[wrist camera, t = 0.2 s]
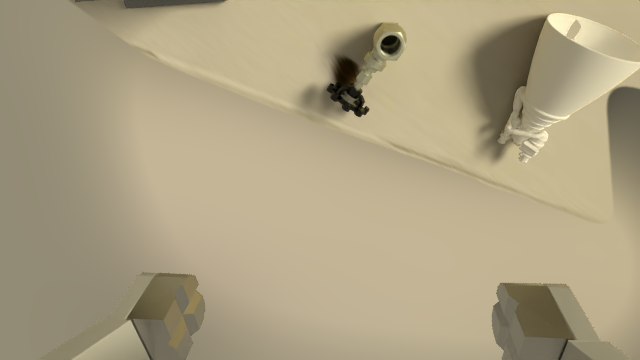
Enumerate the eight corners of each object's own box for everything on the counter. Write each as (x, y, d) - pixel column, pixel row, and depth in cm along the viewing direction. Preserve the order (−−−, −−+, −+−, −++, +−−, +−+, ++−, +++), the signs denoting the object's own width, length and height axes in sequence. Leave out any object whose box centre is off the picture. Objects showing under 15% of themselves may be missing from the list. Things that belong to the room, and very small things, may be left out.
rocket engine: (527, 191, 51) (632, 71, 38) (458, 140, 56) (530, 19, 43) (562, 163, 57) (661, 52, 44) (497, 119, 62) (570, 8, 50)
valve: (378, 6, 50) (328, 82, 56) (378, 14, 44) (324, 97, 50) (418, 35, 51) (365, 106, 57) (423, 46, 46) (365, 123, 52)
